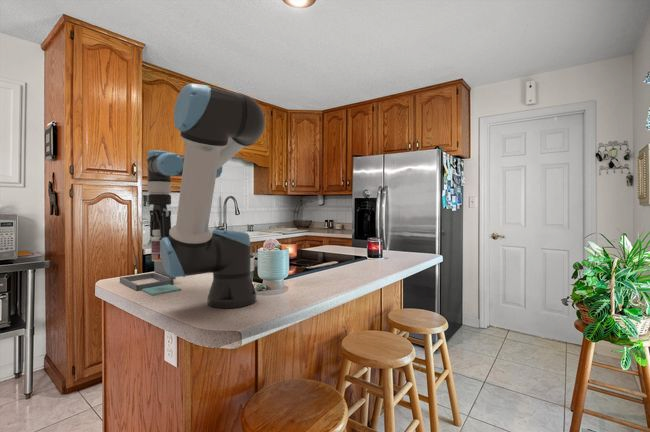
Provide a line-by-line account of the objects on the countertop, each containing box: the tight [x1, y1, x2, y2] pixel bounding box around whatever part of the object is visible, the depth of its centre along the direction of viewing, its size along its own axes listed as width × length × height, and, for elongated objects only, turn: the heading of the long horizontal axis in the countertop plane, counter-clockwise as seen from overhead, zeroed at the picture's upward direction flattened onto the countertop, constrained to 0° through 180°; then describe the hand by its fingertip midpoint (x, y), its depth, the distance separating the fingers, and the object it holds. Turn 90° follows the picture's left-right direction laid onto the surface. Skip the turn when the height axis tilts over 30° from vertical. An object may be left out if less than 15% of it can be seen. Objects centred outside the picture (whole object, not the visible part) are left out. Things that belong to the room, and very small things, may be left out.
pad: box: [141, 284, 182, 296], centre depth 123 cm, size 10×10×1 cm
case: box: [119, 261, 177, 292], centre depth 134 cm, size 20×14×14 cm
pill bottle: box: [150, 229, 162, 262], centre depth 122 cm, size 6×6×11 cm
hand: (160, 256), depth 123 cm, fingers closed on pill bottle, 6 cm apart
